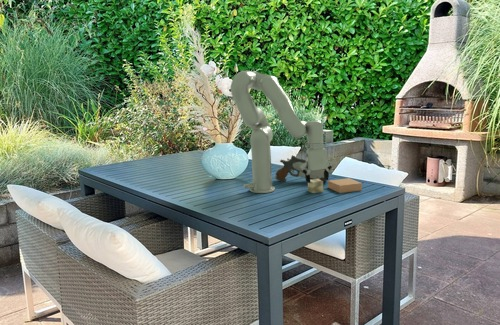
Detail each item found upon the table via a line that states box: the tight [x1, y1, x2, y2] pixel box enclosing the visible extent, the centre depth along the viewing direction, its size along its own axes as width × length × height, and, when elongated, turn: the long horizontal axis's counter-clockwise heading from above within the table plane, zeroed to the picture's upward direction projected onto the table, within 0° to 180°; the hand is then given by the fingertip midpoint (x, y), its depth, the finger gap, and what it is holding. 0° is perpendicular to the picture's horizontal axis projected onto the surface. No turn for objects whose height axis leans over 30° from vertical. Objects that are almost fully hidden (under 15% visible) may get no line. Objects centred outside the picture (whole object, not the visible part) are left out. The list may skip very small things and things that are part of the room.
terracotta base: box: [327, 177, 363, 194], centre depth 212 cm, size 12×12×4 cm
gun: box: [274, 155, 331, 183], centre depth 230 cm, size 5×27×15 cm, turn 79°
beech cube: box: [307, 179, 324, 194], centre depth 209 cm, size 6×6×6 cm
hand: (317, 180), depth 208 cm, fingers open, 9 cm apart
